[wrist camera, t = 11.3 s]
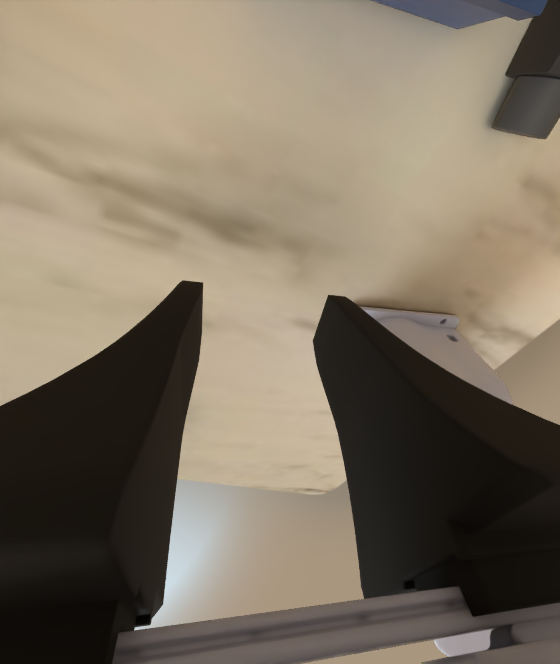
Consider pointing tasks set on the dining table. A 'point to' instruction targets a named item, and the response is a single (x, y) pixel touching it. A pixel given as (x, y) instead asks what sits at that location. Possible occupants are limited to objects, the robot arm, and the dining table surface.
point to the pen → (535, 79)
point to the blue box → (468, 10)
